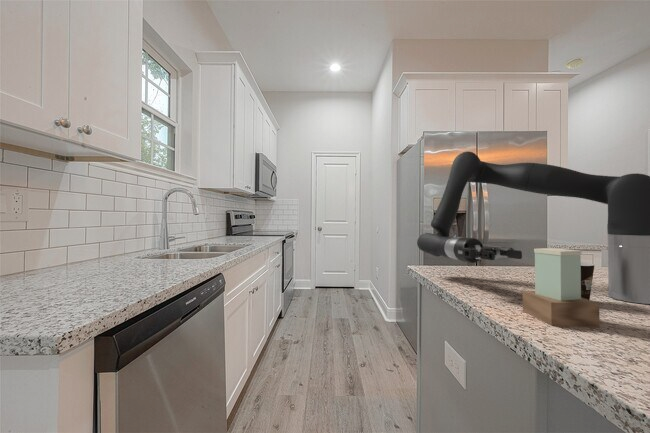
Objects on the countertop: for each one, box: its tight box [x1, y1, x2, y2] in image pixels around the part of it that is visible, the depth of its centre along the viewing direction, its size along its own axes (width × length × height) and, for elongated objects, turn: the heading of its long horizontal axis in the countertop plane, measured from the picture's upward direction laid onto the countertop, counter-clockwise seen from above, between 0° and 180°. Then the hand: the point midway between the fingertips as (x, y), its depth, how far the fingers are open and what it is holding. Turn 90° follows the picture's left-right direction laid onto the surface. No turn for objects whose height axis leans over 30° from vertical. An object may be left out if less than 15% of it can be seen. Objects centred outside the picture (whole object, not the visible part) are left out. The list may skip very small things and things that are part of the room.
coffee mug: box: [581, 261, 595, 300], centre depth 72 cm, size 12×9×10 cm
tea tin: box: [533, 247, 582, 301], centre depth 59 cm, size 6×6×10 cm
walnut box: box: [522, 290, 601, 328], centre depth 59 cm, size 9×9×5 cm
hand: (507, 255), depth 71 cm, fingers open, 8 cm apart
